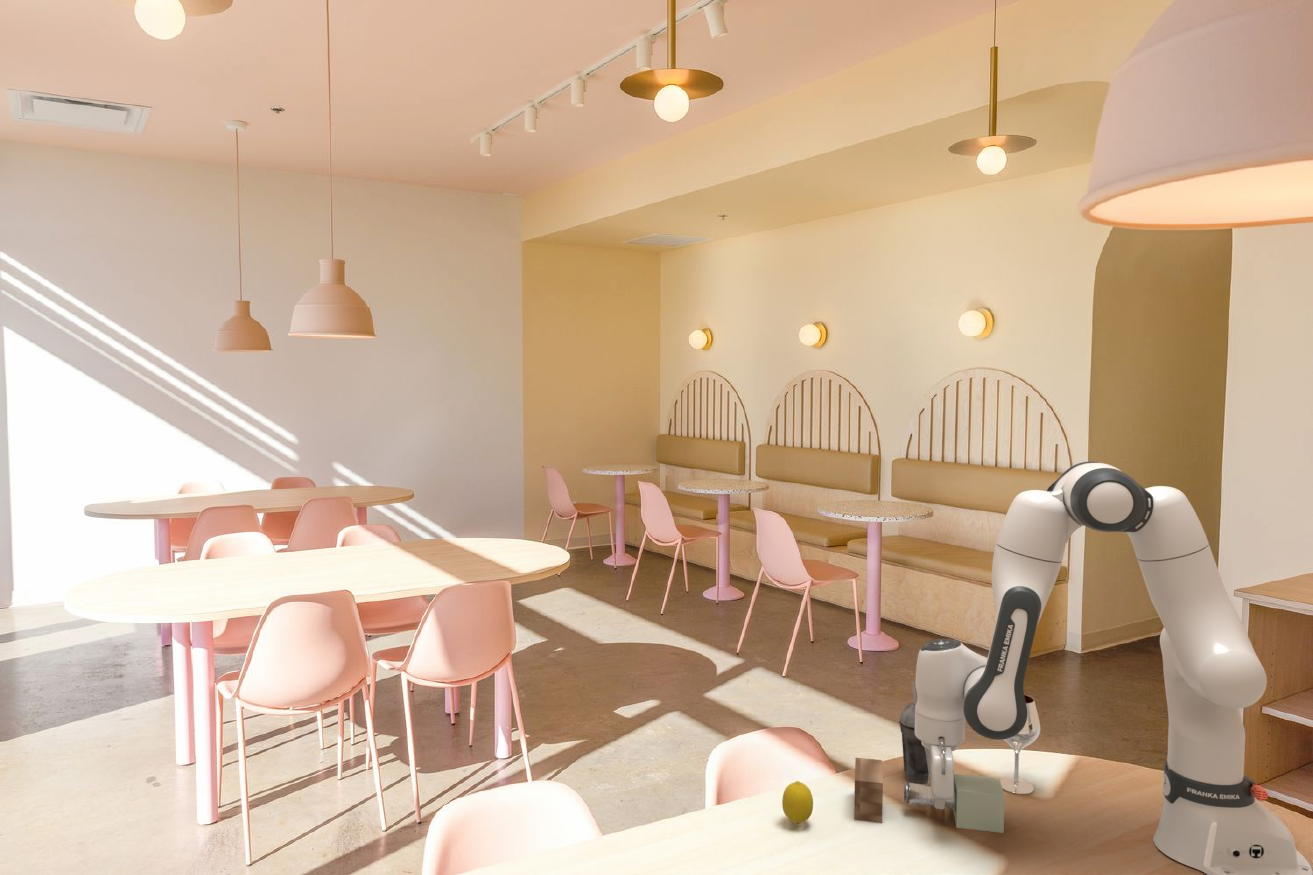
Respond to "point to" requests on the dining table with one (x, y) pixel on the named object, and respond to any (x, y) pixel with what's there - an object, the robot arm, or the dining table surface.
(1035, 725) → the wineglass
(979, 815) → the sage green block
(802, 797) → the lemon
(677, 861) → the dining table surface
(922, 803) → the tube
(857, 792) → the socket
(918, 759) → the beverage cup
